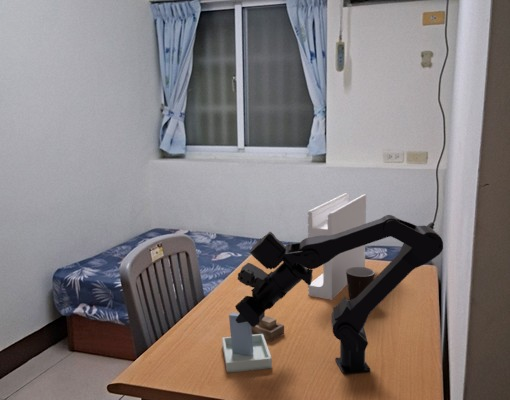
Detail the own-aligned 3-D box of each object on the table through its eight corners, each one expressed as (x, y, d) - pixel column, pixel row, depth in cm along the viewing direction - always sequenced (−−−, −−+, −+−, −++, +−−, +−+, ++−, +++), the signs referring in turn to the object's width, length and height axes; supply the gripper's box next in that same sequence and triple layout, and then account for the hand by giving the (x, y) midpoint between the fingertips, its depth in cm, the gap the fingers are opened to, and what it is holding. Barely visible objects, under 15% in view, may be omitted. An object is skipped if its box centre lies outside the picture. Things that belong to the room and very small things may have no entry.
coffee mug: (353, 294, 153) (354, 265, 151) (378, 301, 148) (379, 270, 146) (335, 306, 144) (335, 275, 142) (361, 313, 139) (362, 281, 137)
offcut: (276, 326, 127) (276, 319, 127) (269, 330, 125) (269, 322, 125) (266, 323, 130) (265, 315, 129) (259, 326, 128) (259, 319, 127)
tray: (272, 368, 111) (271, 358, 110) (226, 372, 109) (226, 363, 109) (263, 342, 123) (262, 333, 123) (222, 346, 122) (222, 337, 121)
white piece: (331, 299, 150) (332, 213, 144) (308, 295, 154) (307, 211, 148) (364, 267, 179) (366, 194, 174) (344, 264, 183) (345, 193, 178)
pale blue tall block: (253, 352, 117) (250, 314, 115) (250, 355, 115) (247, 317, 113) (235, 350, 118) (231, 312, 117) (232, 353, 117) (228, 315, 115)
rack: (284, 333, 127) (284, 325, 127) (271, 341, 124) (271, 332, 123) (244, 319, 137) (244, 311, 137) (231, 325, 133) (231, 317, 133)
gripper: (271, 244, 119) (232, 281, 125) (242, 267, 102) (199, 309, 108) (301, 277, 117) (261, 313, 123) (277, 306, 100) (232, 346, 106)
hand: (239, 318), depth 115 cm, fingers open, 3 cm apart
